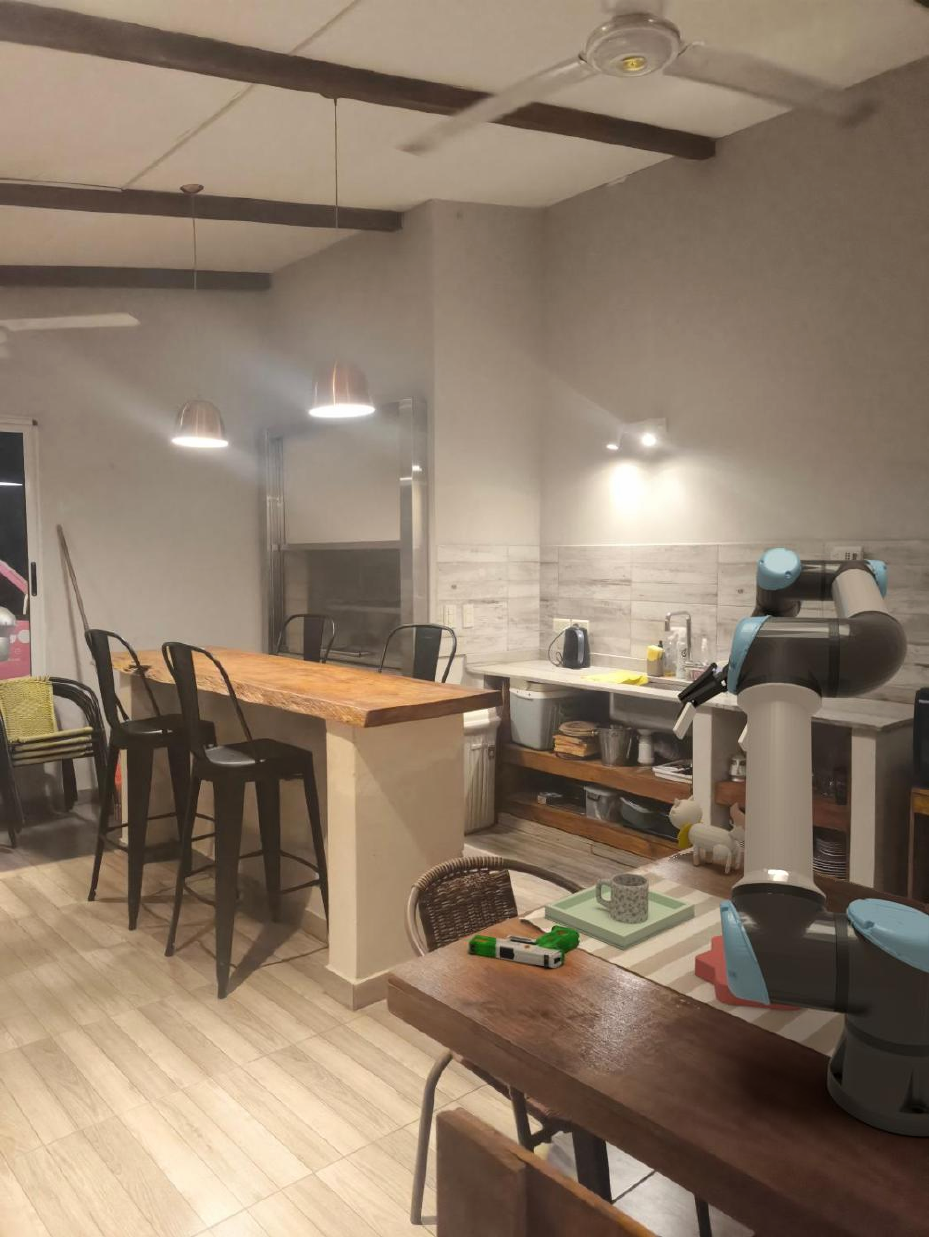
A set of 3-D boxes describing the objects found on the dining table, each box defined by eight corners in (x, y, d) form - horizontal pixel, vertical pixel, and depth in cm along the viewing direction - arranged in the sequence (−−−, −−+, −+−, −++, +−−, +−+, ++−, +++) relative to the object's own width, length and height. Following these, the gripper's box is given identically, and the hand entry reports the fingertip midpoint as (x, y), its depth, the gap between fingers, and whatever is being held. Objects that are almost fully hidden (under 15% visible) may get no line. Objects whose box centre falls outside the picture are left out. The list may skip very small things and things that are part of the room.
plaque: (693, 929, 156) (787, 936, 153) (693, 951, 156) (787, 959, 153) (697, 979, 138) (803, 989, 135) (696, 1004, 139) (803, 1014, 136)
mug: (654, 914, 169) (654, 878, 168) (638, 926, 163) (639, 889, 163) (603, 901, 174) (604, 867, 174) (587, 913, 169) (587, 878, 168)
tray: (624, 950, 156) (624, 936, 155) (544, 917, 169) (544, 905, 169) (694, 916, 169) (694, 904, 169) (615, 888, 182) (615, 877, 182)
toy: (688, 850, 204) (689, 782, 202) (765, 874, 189) (767, 801, 188) (662, 859, 198) (662, 790, 197) (739, 885, 184) (741, 810, 182)
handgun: (495, 914, 165) (467, 939, 154) (581, 928, 159) (558, 955, 148) (495, 930, 166) (467, 957, 155) (581, 945, 159) (558, 973, 148)
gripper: (825, 669, 170) (779, 764, 161) (707, 656, 188) (660, 741, 180) (811, 642, 166) (764, 739, 157) (691, 632, 184) (643, 718, 176)
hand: (708, 740), depth 168 cm, fingers open, 13 cm apart
